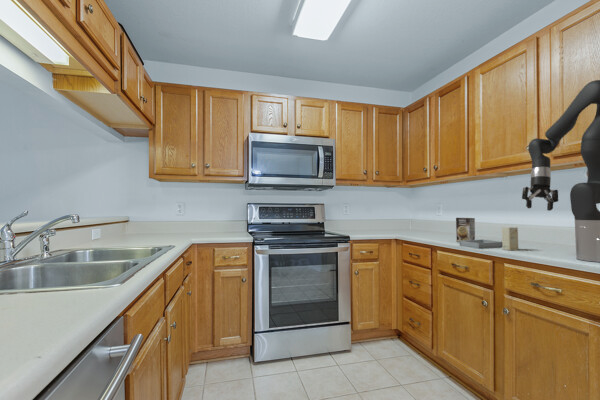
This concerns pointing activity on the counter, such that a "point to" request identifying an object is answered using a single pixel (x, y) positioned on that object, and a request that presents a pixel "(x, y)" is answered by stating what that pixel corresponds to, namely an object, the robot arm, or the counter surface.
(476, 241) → the tray
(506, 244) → the skincare box
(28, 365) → the counter surface
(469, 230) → the coffee box
